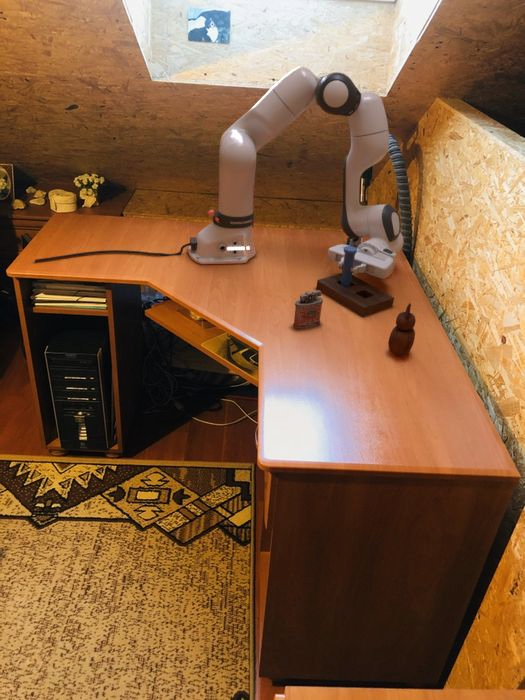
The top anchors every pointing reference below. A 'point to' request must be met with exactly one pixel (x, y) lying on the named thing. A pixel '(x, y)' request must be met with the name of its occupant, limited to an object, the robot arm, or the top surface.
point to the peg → (348, 265)
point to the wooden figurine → (402, 334)
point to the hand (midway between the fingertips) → (346, 268)
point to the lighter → (308, 310)
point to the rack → (355, 295)
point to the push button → (354, 241)
